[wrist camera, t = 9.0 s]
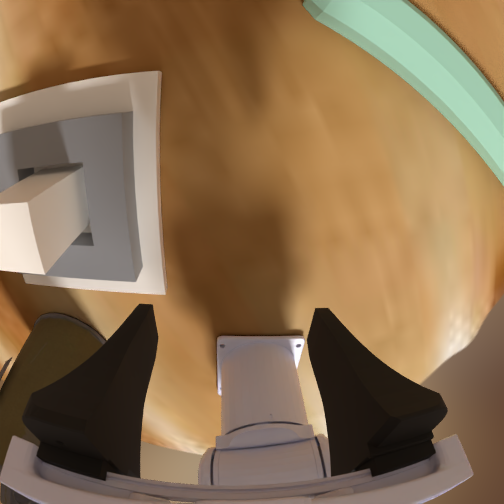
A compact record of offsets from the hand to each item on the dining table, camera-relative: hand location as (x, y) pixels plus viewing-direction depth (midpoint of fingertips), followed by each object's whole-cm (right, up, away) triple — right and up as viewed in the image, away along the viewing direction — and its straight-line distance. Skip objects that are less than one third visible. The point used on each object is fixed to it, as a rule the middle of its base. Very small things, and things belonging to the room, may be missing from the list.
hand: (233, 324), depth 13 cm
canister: (-18, -7, +14) cm, 24 cm away
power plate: (-12, +8, +6) cm, 16 cm away
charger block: (-12, +7, +5) cm, 15 cm away
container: (+15, +16, +4) cm, 22 cm away
